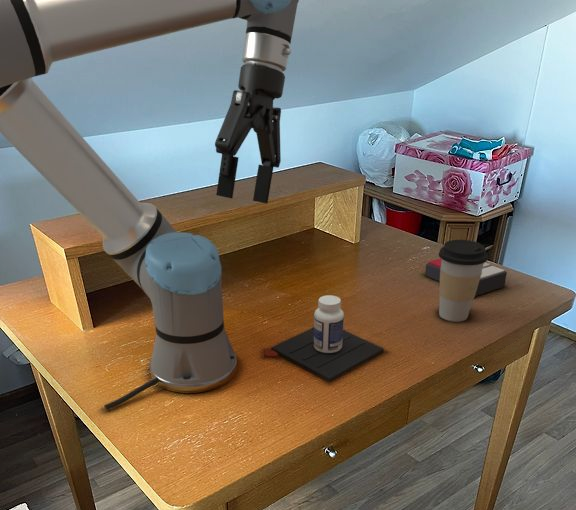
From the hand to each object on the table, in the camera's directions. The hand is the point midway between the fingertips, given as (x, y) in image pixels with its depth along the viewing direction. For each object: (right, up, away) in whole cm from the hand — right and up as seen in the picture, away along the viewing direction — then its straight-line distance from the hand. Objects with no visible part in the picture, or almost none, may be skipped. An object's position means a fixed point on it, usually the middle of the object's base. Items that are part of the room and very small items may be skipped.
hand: (243, 199), depth 106 cm
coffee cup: (+43, -18, +20) cm, 50 cm away
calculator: (+49, -9, +34) cm, 60 cm away
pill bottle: (+15, -26, +7) cm, 31 cm away
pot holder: (+14, -27, +6) cm, 31 cm away
